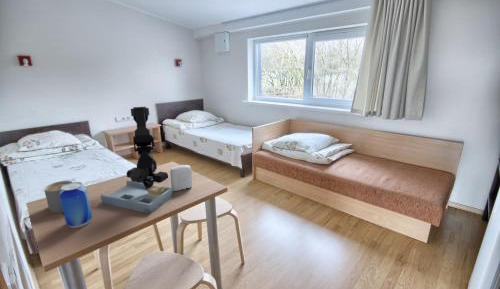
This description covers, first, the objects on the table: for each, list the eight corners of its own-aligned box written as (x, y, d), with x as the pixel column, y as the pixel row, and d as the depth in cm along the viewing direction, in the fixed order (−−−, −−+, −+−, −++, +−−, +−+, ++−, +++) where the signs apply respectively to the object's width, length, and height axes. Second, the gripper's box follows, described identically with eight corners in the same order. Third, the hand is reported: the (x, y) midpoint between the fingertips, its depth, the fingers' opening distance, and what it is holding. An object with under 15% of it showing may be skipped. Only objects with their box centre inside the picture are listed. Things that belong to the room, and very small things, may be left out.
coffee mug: (46, 206, 110) (41, 186, 107) (73, 198, 117) (69, 178, 114) (54, 218, 101) (49, 196, 98) (83, 208, 108) (78, 187, 105)
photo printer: (191, 184, 131) (189, 162, 128) (193, 188, 128) (191, 165, 124) (170, 188, 127) (168, 165, 123) (172, 192, 123) (170, 169, 119)
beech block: (155, 191, 119) (154, 184, 118) (164, 193, 118) (163, 185, 117) (148, 196, 115) (147, 188, 114) (157, 198, 113) (156, 190, 112)
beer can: (64, 231, 94) (55, 192, 89) (69, 219, 101) (61, 183, 96) (90, 226, 97) (82, 188, 92) (93, 214, 104) (86, 179, 100)
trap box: (128, 187, 127) (127, 180, 126) (172, 195, 120) (172, 188, 119) (102, 203, 113) (100, 195, 112) (150, 213, 105) (149, 205, 104)
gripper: (114, 163, 108) (119, 196, 113) (150, 169, 103) (154, 203, 108) (133, 155, 119) (137, 185, 123) (167, 160, 113) (170, 191, 118)
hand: (149, 191), depth 118 cm, fingers closed
